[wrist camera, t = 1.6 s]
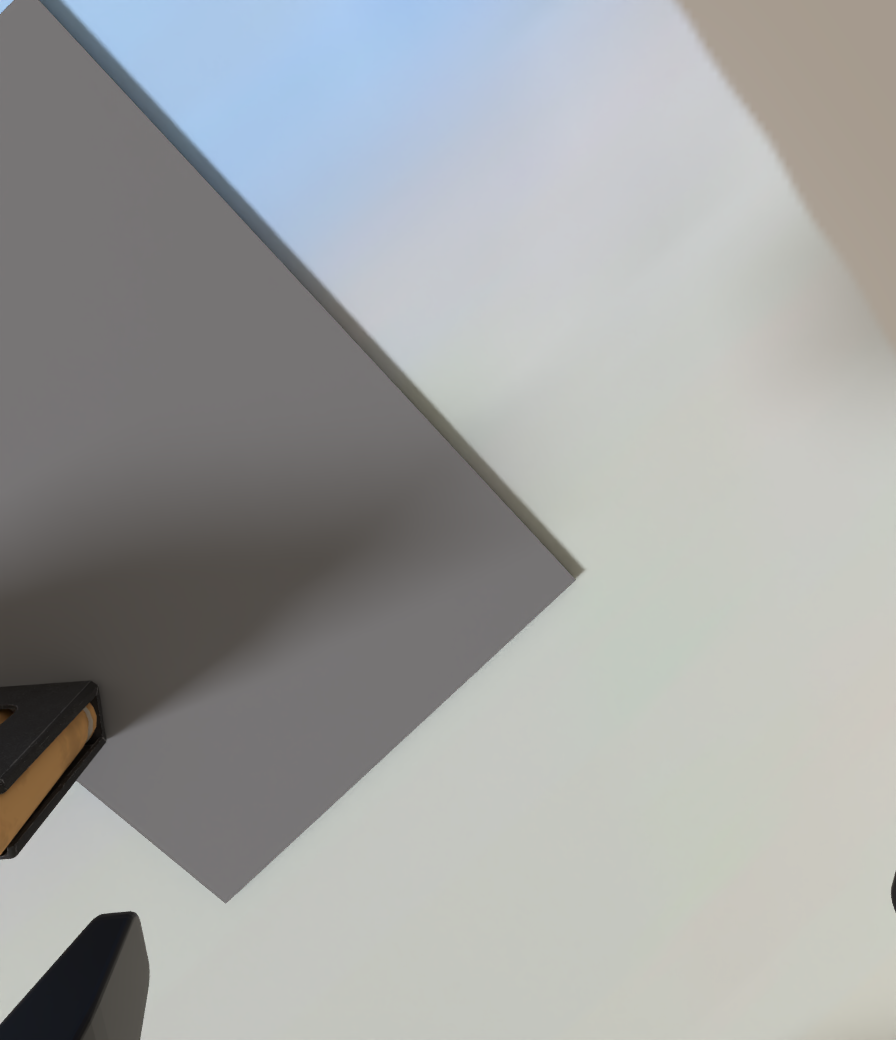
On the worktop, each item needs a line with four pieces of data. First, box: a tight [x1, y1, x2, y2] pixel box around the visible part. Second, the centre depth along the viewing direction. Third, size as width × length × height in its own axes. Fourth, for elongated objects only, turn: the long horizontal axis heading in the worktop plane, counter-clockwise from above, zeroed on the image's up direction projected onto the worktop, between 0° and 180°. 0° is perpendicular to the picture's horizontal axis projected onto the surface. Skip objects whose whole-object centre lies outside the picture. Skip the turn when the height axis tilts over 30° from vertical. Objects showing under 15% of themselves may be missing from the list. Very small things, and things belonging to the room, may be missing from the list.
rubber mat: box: [0, 0, 575, 903], centre depth 21 cm, size 14×20×1 cm
